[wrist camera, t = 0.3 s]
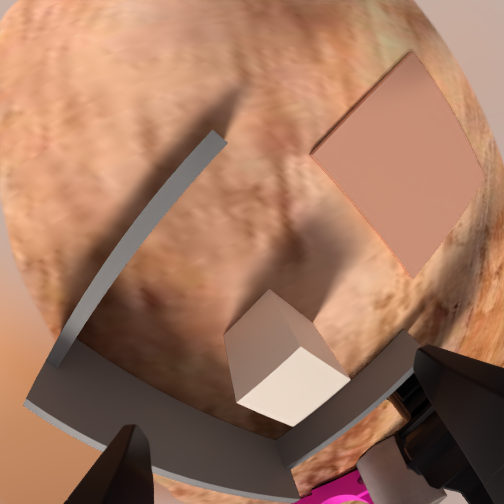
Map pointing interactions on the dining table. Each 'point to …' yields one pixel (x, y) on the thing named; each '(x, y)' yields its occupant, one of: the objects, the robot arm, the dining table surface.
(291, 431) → the open u-shaped enclosure
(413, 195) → the terracotta mat
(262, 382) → the ivory block
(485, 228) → the dining table surface
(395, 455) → the pillar candle
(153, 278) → the dining table surface
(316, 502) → the toy block
